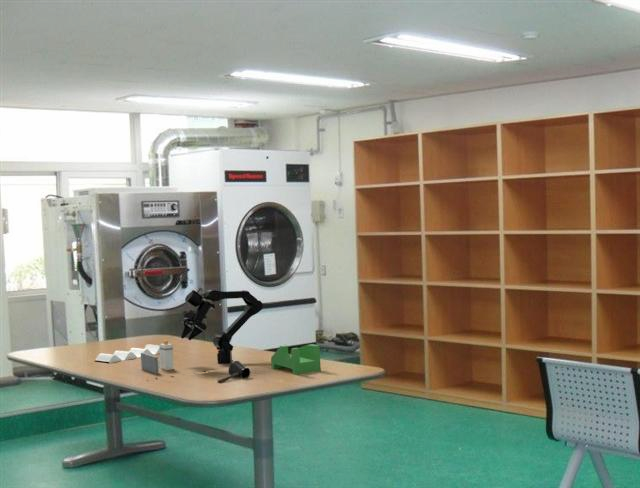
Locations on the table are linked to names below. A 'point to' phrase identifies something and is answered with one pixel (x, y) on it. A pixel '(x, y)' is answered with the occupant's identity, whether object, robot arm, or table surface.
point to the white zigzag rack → (128, 354)
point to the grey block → (150, 363)
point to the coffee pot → (236, 371)
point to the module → (166, 356)
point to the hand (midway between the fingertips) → (185, 339)
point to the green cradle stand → (298, 359)
